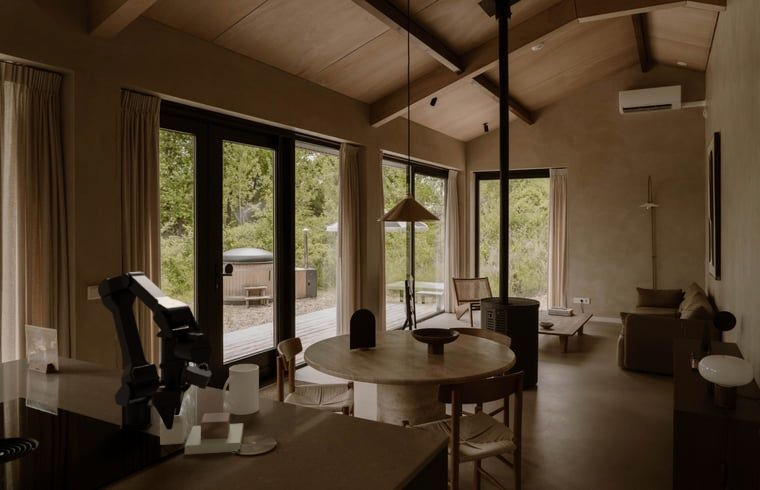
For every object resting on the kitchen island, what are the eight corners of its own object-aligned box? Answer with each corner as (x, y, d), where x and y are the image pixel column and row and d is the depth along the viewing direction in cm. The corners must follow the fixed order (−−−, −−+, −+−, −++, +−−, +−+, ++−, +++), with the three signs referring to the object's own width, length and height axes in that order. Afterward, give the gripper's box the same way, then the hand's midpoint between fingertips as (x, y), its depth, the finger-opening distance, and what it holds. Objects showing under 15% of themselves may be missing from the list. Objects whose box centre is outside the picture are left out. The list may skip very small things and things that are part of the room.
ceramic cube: (160, 445, 124) (160, 424, 123) (164, 436, 128) (164, 416, 128) (182, 443, 125) (182, 422, 124) (186, 435, 129) (186, 415, 129)
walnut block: (200, 439, 122) (200, 422, 122) (204, 429, 128) (204, 413, 128) (227, 438, 123) (227, 421, 123) (229, 428, 129) (229, 412, 129)
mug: (232, 420, 140) (232, 375, 139) (211, 413, 144) (212, 370, 144) (265, 408, 149) (266, 366, 149) (245, 402, 154) (245, 362, 154)
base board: (184, 454, 118) (184, 445, 118) (193, 434, 130) (193, 426, 130) (239, 451, 121) (239, 442, 121) (243, 431, 132) (243, 423, 132)
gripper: (203, 366, 118) (203, 435, 119) (213, 347, 137) (213, 407, 137) (151, 368, 116) (150, 438, 117) (168, 348, 134) (167, 409, 135)
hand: (173, 422), depth 126 cm, fingers open, 9 cm apart
